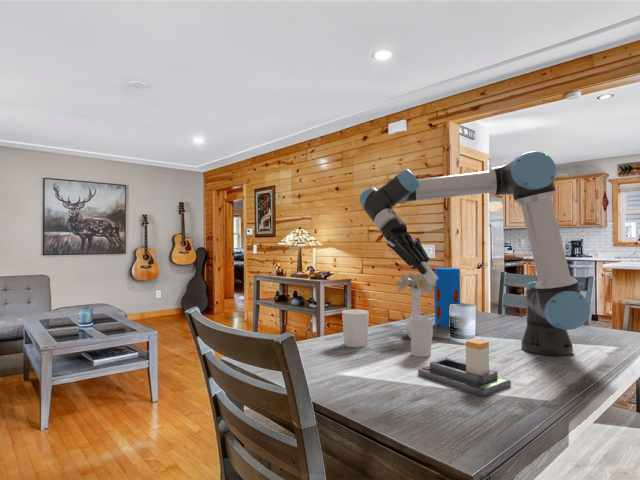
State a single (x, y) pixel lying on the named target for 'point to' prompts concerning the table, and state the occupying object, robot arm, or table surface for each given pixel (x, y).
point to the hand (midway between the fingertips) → (434, 281)
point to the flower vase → (414, 293)
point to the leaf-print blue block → (446, 293)
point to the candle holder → (355, 327)
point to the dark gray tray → (464, 377)
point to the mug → (421, 336)
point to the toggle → (477, 357)
